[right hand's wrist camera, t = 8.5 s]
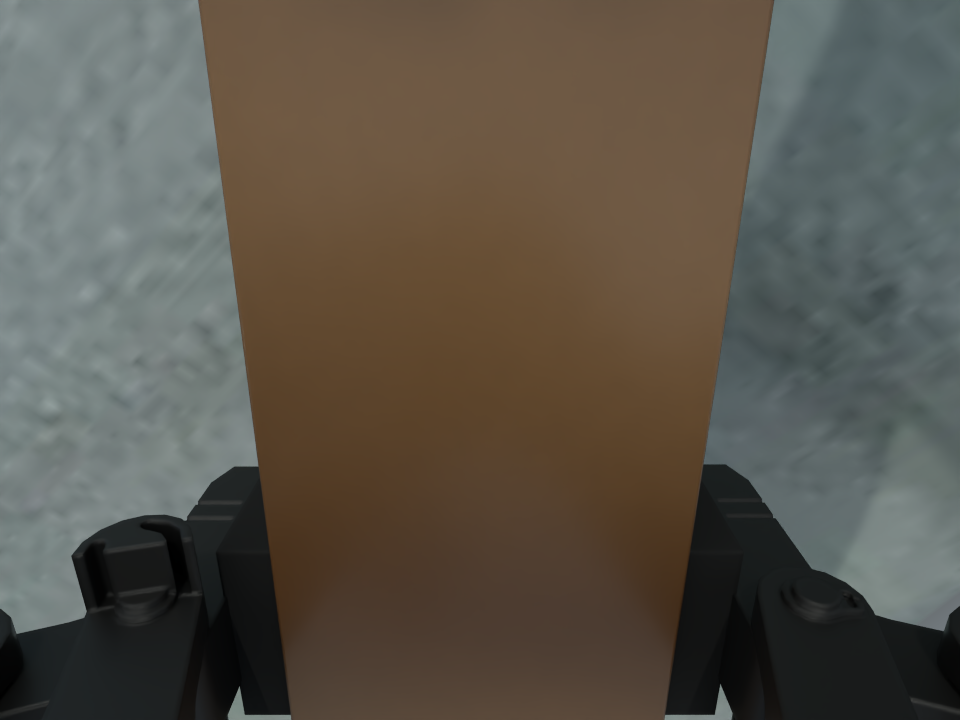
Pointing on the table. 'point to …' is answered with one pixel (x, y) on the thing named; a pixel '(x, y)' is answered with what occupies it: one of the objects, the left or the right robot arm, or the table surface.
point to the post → (482, 334)
